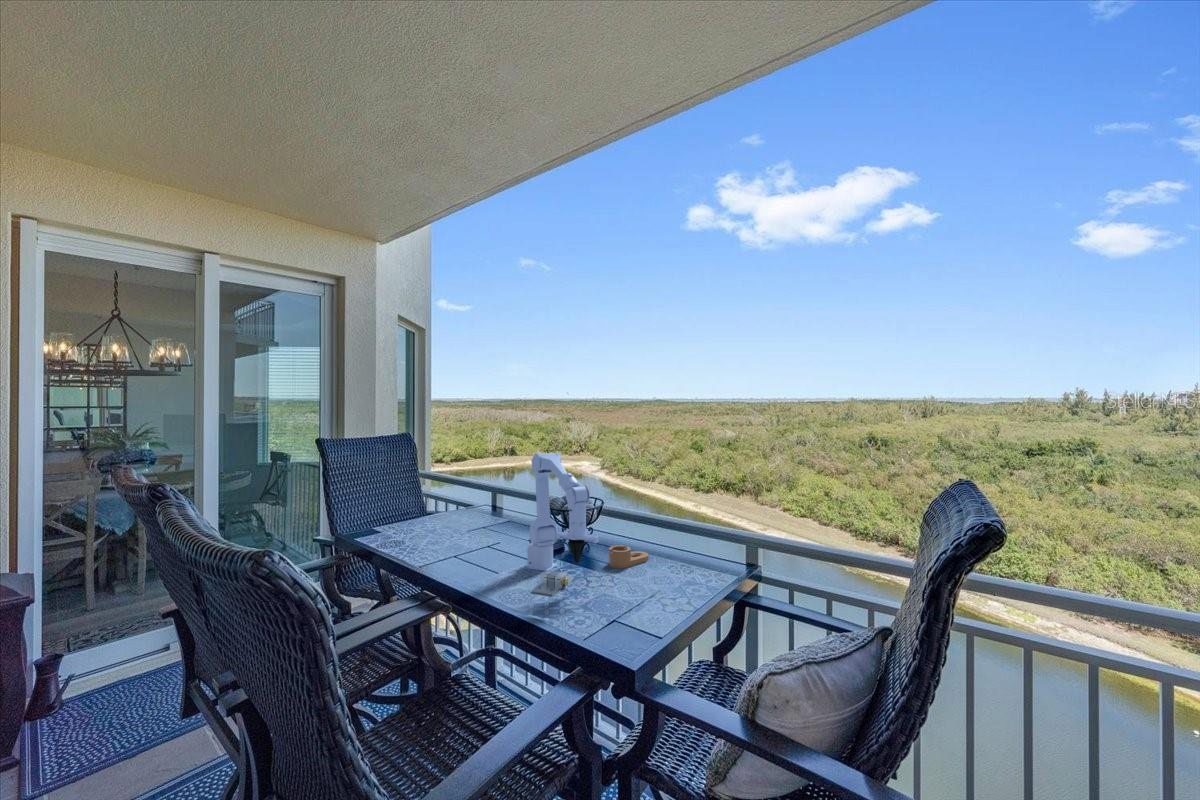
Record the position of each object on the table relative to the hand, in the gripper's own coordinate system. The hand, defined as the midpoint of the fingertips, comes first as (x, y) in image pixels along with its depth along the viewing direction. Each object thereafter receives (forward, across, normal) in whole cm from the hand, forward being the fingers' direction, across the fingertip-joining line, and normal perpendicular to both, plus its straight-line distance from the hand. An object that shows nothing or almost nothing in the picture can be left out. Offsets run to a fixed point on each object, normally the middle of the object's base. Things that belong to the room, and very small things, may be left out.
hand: (577, 561), depth 162 cm
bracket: (+10, +8, +32) cm, 34 cm away
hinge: (+9, -9, 0) cm, 13 cm away
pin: (+9, -9, 0) cm, 13 cm away
